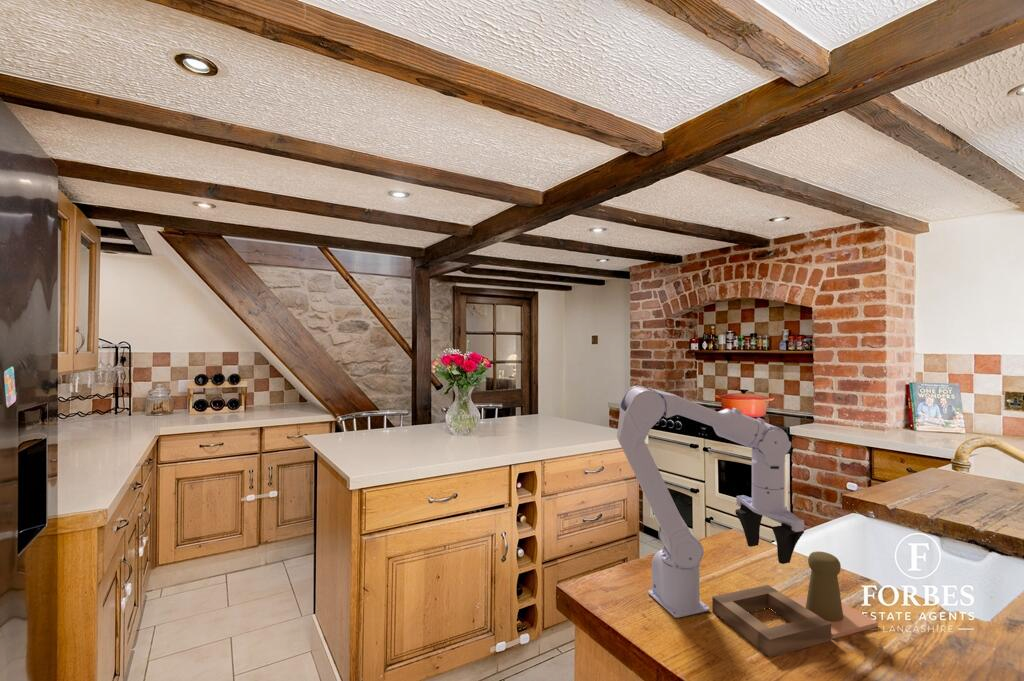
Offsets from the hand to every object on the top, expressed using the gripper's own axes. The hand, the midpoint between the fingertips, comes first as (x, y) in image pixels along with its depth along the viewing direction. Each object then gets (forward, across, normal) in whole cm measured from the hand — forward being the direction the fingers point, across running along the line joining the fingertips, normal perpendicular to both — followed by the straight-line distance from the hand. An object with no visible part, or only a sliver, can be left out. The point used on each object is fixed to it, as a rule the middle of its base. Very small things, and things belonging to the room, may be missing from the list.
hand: (768, 553), depth 94 cm
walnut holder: (+10, -5, +5) cm, 13 cm away
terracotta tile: (+10, -6, -8) cm, 14 cm away
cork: (+10, -6, -7) cm, 14 cm away
